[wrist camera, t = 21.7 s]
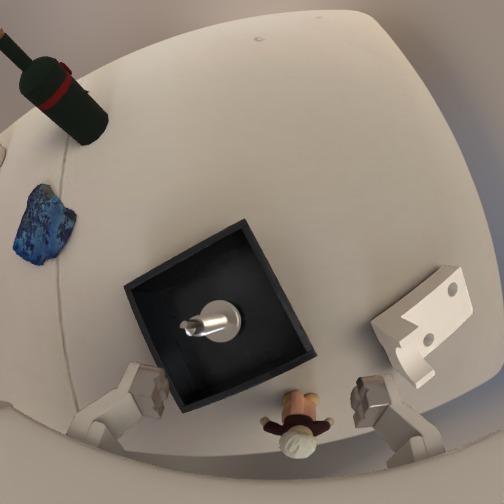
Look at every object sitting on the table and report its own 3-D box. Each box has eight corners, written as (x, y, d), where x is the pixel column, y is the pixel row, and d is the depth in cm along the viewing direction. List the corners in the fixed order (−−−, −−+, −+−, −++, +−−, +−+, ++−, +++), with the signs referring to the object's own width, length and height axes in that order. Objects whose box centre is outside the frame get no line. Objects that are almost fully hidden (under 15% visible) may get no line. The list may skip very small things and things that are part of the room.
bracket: (389, 363, 31) (417, 389, 24) (369, 321, 31) (398, 342, 23) (458, 307, 31) (492, 319, 23) (444, 264, 31) (481, 269, 23)
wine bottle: (113, 98, 44) (30, -2, 15) (105, 137, 42) (-1, 33, 13) (83, 112, 45) (-2, 27, 16) (74, 151, 43) (-31, 66, 14)
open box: (311, 345, 32) (317, 355, 25) (200, 396, 33) (182, 413, 26) (253, 234, 36) (244, 218, 29) (149, 290, 36) (122, 286, 29)
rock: (43, 180, 43) (36, 176, 41) (84, 216, 40) (77, 213, 38) (13, 243, 42) (6, 241, 40) (49, 291, 39) (41, 290, 37)
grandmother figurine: (325, 383, 31) (342, 423, 19) (328, 410, 30) (345, 459, 18) (263, 393, 32) (248, 437, 19) (267, 419, 31) (255, 471, 19)
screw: (204, 300, 34) (243, 300, 33) (204, 339, 33) (243, 340, 32) (157, 296, 21) (216, 297, 21) (158, 356, 20) (216, 361, 20)
